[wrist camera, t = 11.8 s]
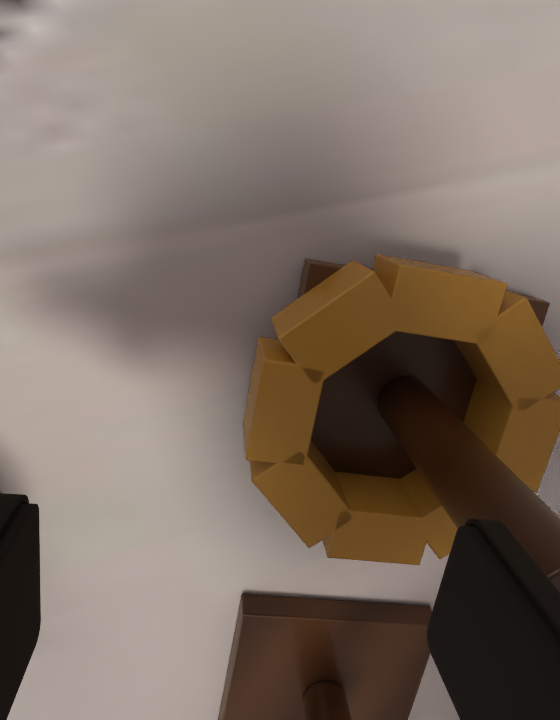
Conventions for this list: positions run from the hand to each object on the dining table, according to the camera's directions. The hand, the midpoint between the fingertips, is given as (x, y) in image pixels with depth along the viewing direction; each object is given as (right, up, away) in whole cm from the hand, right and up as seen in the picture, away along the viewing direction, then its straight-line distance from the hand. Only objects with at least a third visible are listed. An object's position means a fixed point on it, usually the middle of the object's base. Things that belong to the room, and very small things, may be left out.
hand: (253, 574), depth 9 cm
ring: (+5, +2, +10) cm, 11 cm away
